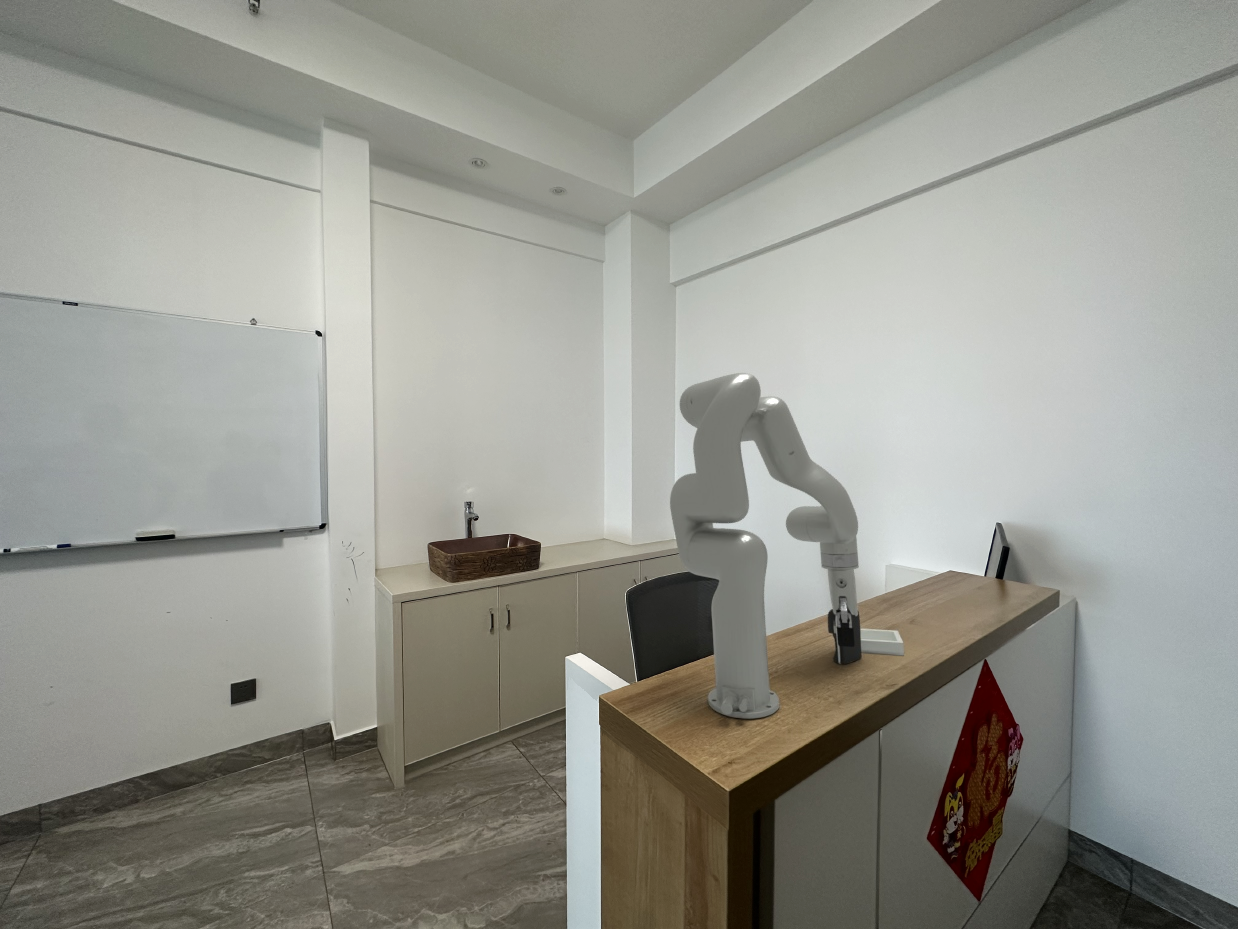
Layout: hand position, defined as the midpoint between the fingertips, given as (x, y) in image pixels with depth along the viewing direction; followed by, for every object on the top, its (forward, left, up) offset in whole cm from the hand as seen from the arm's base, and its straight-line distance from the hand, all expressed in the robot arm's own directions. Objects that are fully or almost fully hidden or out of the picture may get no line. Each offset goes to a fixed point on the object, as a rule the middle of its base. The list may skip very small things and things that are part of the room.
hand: (845, 638), depth 111 cm
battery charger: (0, 0, -5) cm, 5 cm away
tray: (+10, -6, -5) cm, 12 cm away
